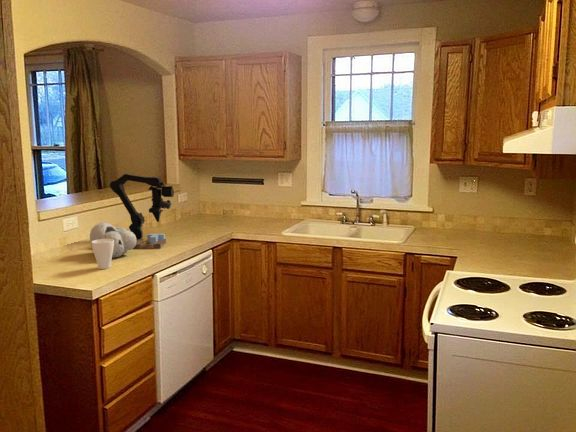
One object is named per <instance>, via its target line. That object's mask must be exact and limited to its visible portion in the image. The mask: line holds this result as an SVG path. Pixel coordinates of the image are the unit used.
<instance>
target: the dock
mask: <svg viewBox="0 0 576 432" xmlns="http://www.w3.org/2000/svg"><path fill="white" fill-rule="evenodd" d="M145 242H146V241H143V238H141V239H138V241H136V245H135V247H134V248H133V249H134V250H139V249H140V250H143V249H144V250H145V249H146V250H148V249H151V250H152V249H157V250H158V249H162V248H163V247H164V246H165V245H166V243H167V238H165V239H164V240H162V241H157V242H156V243H154V244H150V243H145Z"/></svg>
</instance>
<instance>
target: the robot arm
mask: <svg viewBox="0 0 576 432" xmlns="http://www.w3.org/2000/svg"><path fill="white" fill-rule="evenodd" d="M128 181H129V182H136V183H142V184H147V185H149V186H150V187H149V188H148V191H151V202H152V205H151V207H150V208H149V209H148V213H152V215H153V217H154V219H155V220H156V222H157V223H159V222H160V219H161V215H162V212H163V211H164V209H166V210H170V209H171V207H172V202H171V200H169V199H168V200H167V201H166V200H164V199H163V197H164V198H173V197H175V191H174V187H173V185H169V186H168V185H167V186H166V185H165V184H164V182H163V181H162V178H161V177H160V176H143V175H138V174H137V175H136V174H132V173H124V174H123V175H122V176H120V177H119V178H118V179H115V180H113V181H111V182H110V184H109V187H110V189H111V190H112V192H113V193H115V194H116V195H117V196H118V197H119V199H120V201H121V202H122V204H123V205H124V207H125V209H126V211H127V212H128V214H129V217H130V221H131V224H130V225H129V226H128V228H129V231H131V232H133V234H135V236H136V240H141V239H143V237H144V236H143V234H144V233H143V229H142V228H143V225H144V224H145V221H146V220H145V217H144V215H143V213H142V212H140V213H139V211H137V209H136V208H135V206H134V205H133V203H132V202H131V199H130V198H129V196H128V194H127V192H126V189H125V186H124V185H125V184H126V183H127V182H128Z"/></svg>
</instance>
